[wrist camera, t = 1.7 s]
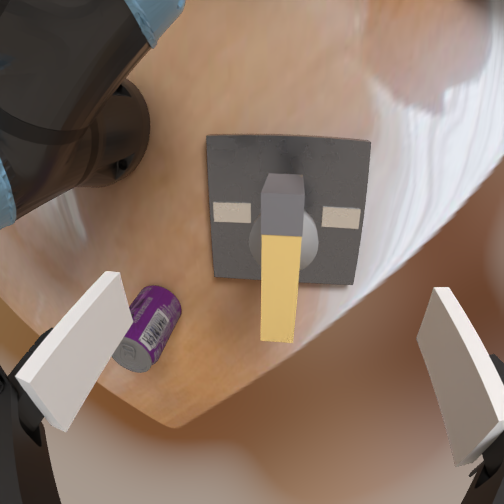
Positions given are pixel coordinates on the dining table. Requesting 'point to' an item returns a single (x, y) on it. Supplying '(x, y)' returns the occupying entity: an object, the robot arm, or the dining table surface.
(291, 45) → the dining table surface
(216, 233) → the post base
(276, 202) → the handle
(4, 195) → the robot arm
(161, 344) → the beverage can
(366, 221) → the dining table surface
